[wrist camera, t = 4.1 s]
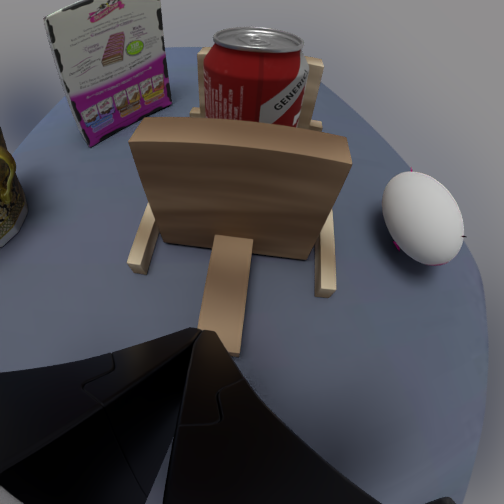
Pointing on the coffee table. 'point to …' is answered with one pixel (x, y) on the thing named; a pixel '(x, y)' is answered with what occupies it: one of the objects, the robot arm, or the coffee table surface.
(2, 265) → the coffee table surface
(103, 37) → the candy bar box
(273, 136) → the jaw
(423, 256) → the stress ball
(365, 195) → the coffee table surface
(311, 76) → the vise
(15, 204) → the ceramic cup
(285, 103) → the soda can
